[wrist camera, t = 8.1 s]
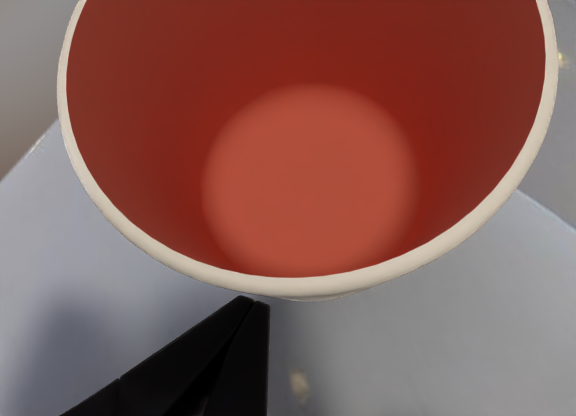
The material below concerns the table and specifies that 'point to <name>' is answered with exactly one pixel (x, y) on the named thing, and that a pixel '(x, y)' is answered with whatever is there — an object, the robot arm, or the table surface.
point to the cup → (304, 131)
